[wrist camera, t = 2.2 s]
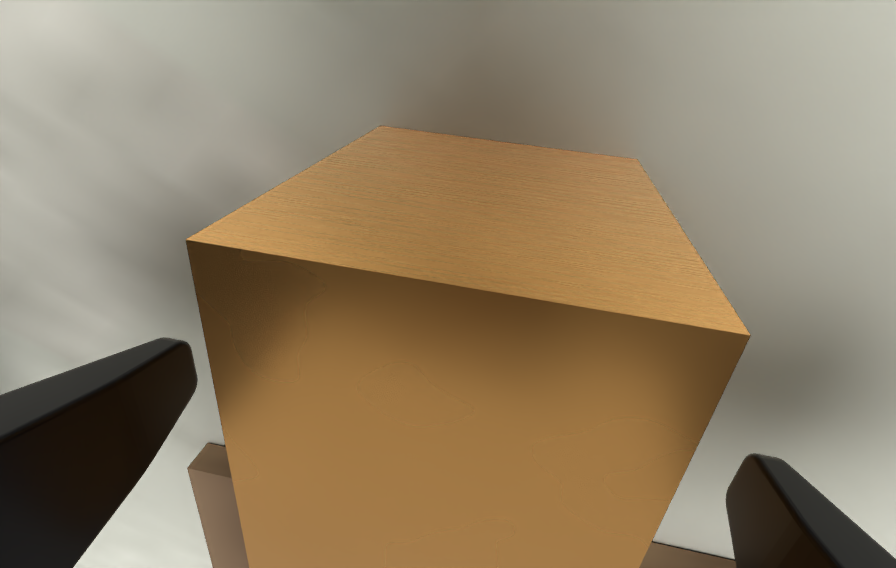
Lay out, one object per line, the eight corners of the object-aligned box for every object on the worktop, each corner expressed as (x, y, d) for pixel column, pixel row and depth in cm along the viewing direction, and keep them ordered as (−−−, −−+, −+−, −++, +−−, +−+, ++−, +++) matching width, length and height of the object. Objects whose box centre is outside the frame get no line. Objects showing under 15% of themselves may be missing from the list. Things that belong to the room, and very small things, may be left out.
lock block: (376, 389, 13) (261, 629, 8) (381, 124, 10) (185, 240, 4) (561, 427, 12) (568, 713, 7) (636, 157, 9) (750, 336, 4)
